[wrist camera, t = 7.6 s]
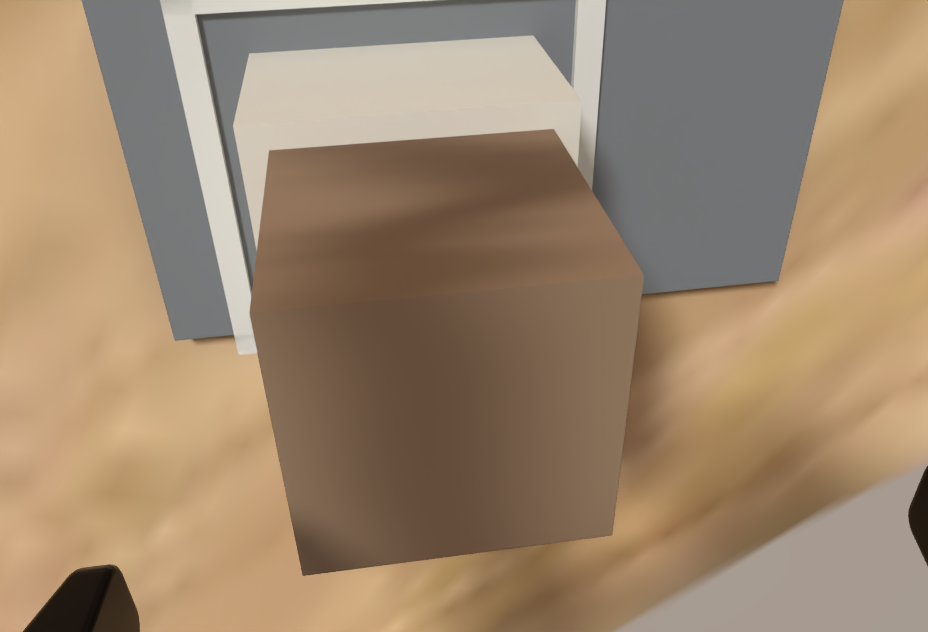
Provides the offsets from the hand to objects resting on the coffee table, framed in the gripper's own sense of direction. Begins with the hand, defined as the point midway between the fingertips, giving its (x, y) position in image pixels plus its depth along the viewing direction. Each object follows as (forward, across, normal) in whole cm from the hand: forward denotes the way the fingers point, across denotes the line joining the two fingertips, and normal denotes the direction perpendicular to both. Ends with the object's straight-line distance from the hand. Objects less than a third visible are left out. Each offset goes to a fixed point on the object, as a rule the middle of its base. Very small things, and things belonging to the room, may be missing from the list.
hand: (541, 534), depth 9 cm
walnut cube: (+8, +1, +1) cm, 8 cm away
